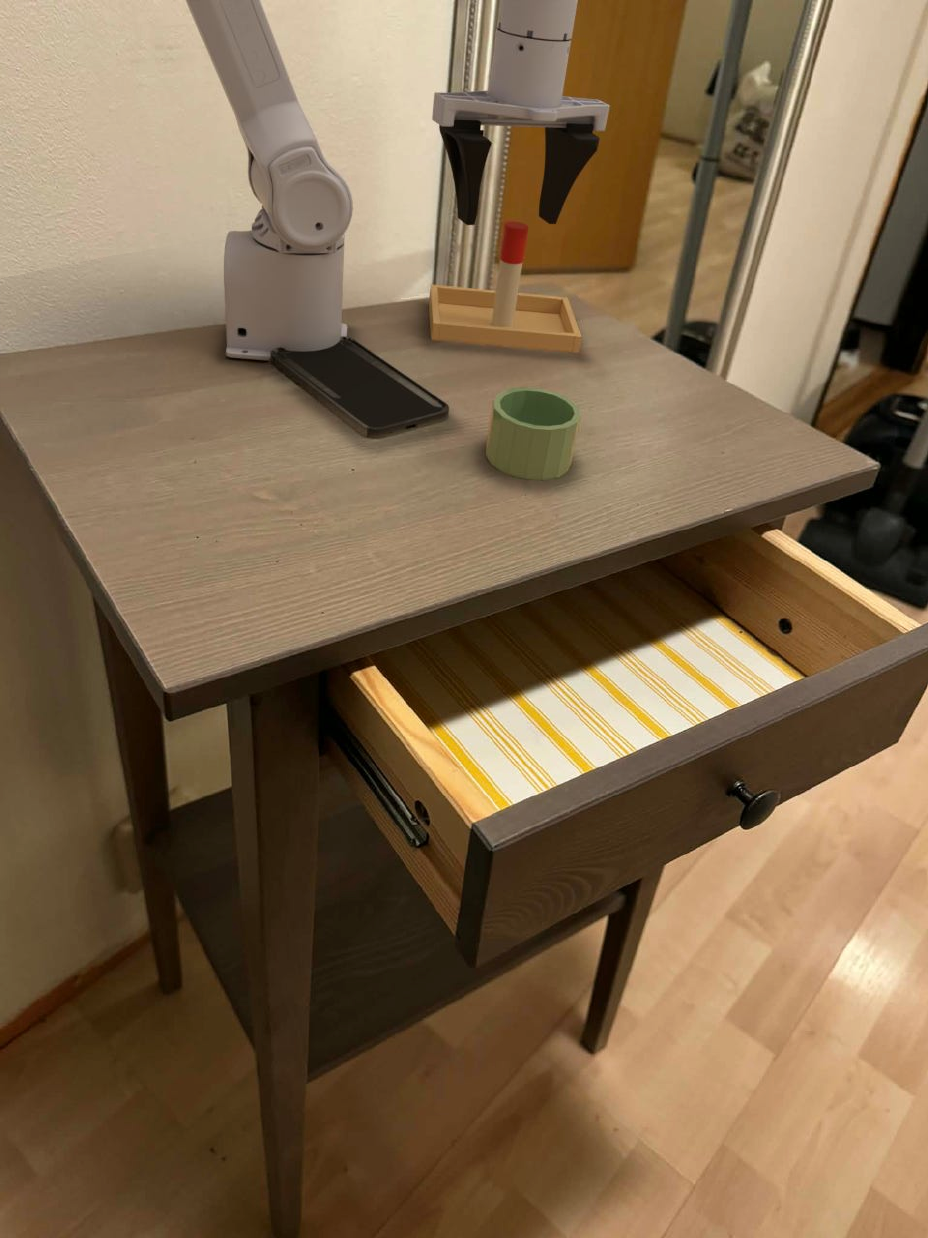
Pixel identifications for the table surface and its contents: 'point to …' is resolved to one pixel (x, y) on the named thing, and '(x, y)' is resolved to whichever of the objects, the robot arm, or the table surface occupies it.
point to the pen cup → (532, 433)
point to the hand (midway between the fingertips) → (507, 220)
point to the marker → (509, 273)
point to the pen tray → (533, 327)
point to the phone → (361, 388)
